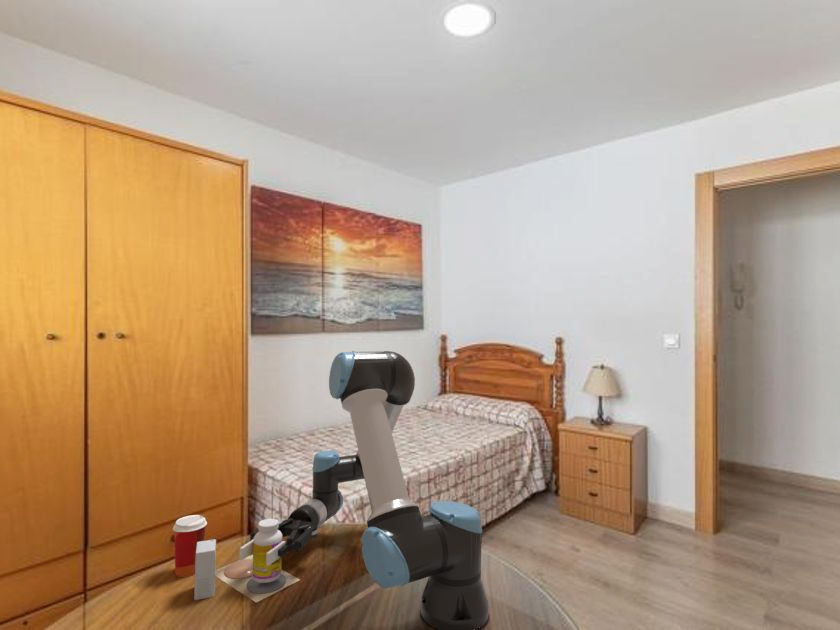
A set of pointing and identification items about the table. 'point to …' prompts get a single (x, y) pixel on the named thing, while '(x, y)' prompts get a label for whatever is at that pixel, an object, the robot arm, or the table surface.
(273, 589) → the slate pad
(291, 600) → the table surface
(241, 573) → the terracotta pad
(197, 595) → the skincare box
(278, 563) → the supplement bottle
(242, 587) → the birch board
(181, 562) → the paper cup
